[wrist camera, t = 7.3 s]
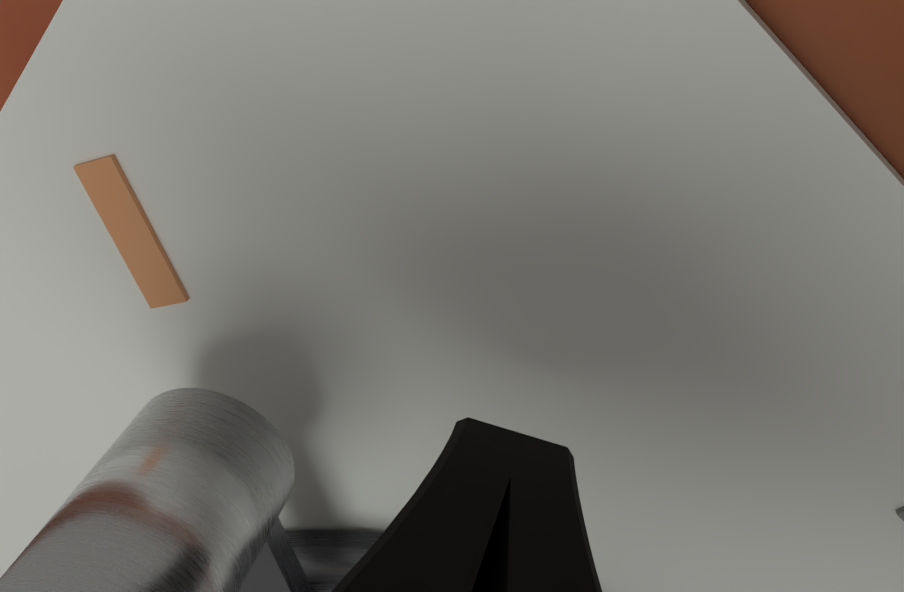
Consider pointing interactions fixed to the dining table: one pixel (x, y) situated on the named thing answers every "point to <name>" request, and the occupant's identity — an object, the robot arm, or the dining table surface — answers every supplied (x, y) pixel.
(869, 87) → the dining table surface
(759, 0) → the dining table surface
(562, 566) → the robot arm
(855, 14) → the dining table surface
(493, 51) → the dial plate
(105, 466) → the dial
